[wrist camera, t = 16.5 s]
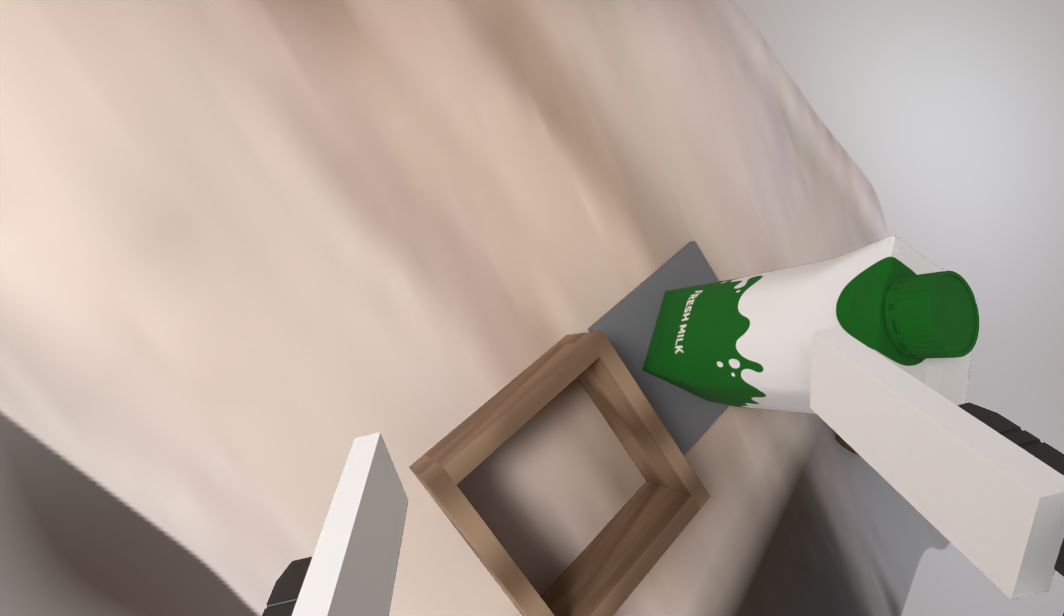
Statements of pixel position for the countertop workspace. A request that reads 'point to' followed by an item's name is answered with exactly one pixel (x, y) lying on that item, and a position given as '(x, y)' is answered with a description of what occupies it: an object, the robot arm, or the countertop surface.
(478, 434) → the collar
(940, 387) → the soya milk
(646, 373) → the rubber mat
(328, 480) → the countertop surface
